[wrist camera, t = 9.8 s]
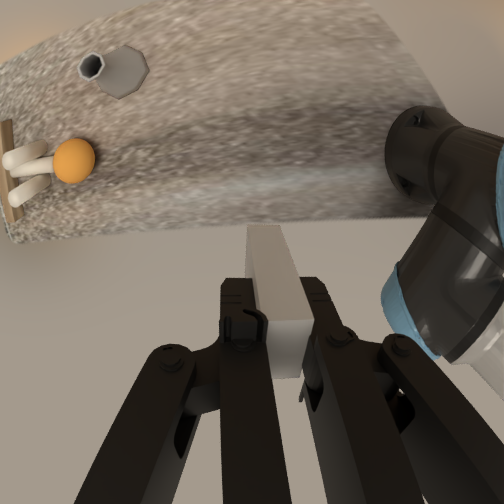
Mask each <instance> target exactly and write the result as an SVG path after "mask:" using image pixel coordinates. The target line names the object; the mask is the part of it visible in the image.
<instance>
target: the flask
mask: <svg viewBox="0 0 504 504" xmlns="http://www.w3.org/2000/svg"><path fill="white" fill-rule="evenodd" d="M77 71H78V74H79V76H80V78H82V79H84V80H86V81H88V82H91V81H92V80H94V79H95V80H96V82H97V83H98V85H99V87H100V89H101V90H102V91H103V92H105V93H107V94H109V95H111V96H113V97H115V98H117V99H121V98H122V97H124V96H126V95H128V94H130V93H132V92H134V91H136V90H138V88H139V87H140V85H141V83H142V82H143V80H144V78H145V77H146V75H147V74H148V72H149V69H148V66H147V64H146V61H145V59H144V56H143V54H142V52H139V51H137V50H135V49H133V48H131V47H129V46H126V45H124V46H122V47H120V48H118V49H116V50H114V51H112V52H110V53H108V54H106V55H101V54H99V53H97V52H95V51H91V52H90V53H88V54H87V55H85V56H83V57H82V59H81V60H80V62H79V64H78V66H77Z"/></svg>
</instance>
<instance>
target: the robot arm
mask: <svg viewBox="0 0 504 504" xmlns="http://www.w3.org/2000/svg"><path fill="white" fill-rule="evenodd" d="M385 161H386V167H387V171H388V174H389V176H390V179H391V181H392V182H393V184H394V185H395V186H396V188H397V189H398V190H399V191H400V192H402V193H403V194H404V195H406V196H407V197H409V198H410V199H412V200H414V201H417V202H420V203H426V204H435V206H434V208H433V210H432V211H431V213H430V214H429V216H428V218H427V220H426V222H425V223H424V225H423V226H422V228H421V230H420V231H419V233H418V234H417V236H416V238H415V239H414V241H413V242H412V244H411V245H410V247H409V248H408V250H407V251H406V253H405V254H404V256H403V257H402V259H401V260H400V261H399V262H397V263H396V264H395V267H394V271H393V272H392V274H391V276H390V277H389V279H388V280H387V282H386V283H385V285H384V287H383V289H382V292H381V304H382V307H383V312H384V314H385V317H386V319H387V321H388V323H389V324H390V326H391V328H392V329H393V331H394V332H395V333H394V334H389V335H388V336H386V337H385V339H384V341H383V343H374V342H368V341H363V340H360V339H359V338H358V336H357V335H356V333H355V332H354V331H353V330H351V329H350V328H348V327H346V326H343V324H342V322H341V320H340V317H339V315H338V313H337V311H336V308H335V306H334V304H333V302H332V301H331V297H330V295H329V294H328V291H327V289H326V287H325V284H324V283H322V282H321V281H320V280H319V279H318V278H317V277H299V276H298V273H297V270H296V268H295V265H294V262H293V259H292V257H291V254H290V252H289V249H288V246H287V243H286V241H285V238H284V236H283V233H282V231H281V228H280V225H251V224H247V243H246V263H245V278H226V279H225V280H224V282H223V283H222V285H221V293H220V294H221V295H220V320H219V337H218V339H217V340H216V341H215V343H213V344H212V345H210V346H209V347H207V348H204V349H201V350H197V351H193V352H191V351H190V350H189V349H188V348H187V347H184V346H182V345H179V344H167V345H162V346H160V347H158V348H156V349H154V350H153V352H152V353H151V354H150V355H149V357H148V358H147V360H146V362H145V364H144V366H143V368H142V369H141V371H140V373H139V375H138V377H137V379H136V380H135V382H134V384H133V386H132V388H131V390H130V392H129V394H128V395H127V397H126V399H125V401H124V403H123V405H122V407H121V409H120V411H119V413H118V414H117V416H116V418H115V420H114V422H113V424H112V426H111V428H110V430H109V432H108V434H107V436H106V438H105V440H104V442H103V444H102V446H101V448H100V450H99V452H98V454H97V456H96V458H95V460H94V462H93V464H92V466H91V468H90V470H89V472H88V474H87V477H86V479H85V481H84V483H83V485H82V487H81V489H80V491H79V493H78V496H77V498H76V500H75V502H74V504H172V501H173V498H174V495H175V492H176V489H177V487H178V484H179V480H180V477H181V474H182V472H183V469H184V466H185V463H186V459H187V456H188V453H189V450H190V447H191V444H192V441H193V438H194V435H195V432H196V429H197V426H198V423H199V420H200V417H201V414H204V413H208V412H211V411H215V410H218V409H220V428H221V462H222V463H221V464H222V489H223V504H292V501H291V495H290V489H289V483H288V477H287V471H286V465H285V458H284V452H283V445H282V439H281V433H280V426H279V420H278V415H277V408H276V402H275V396H274V389H273V383H272V379H282V378H283V379H284V378H299V377H300V374H301V370H302V369H303V373H304V377H305V379H304V383H303V386H302V389H301V392H300V396H299V402H302V401H303V398H305V402H306V407H307V411H308V415H309V420H310V424H311V429H312V433H313V438H314V442H315V447H316V451H317V456H318V461H319V465H320V469H321V474H322V479H323V484H324V488H325V493H326V497H327V503H328V504H425V503H424V500H423V496H424V498H425V499H426V501H427V502H428V504H504V444H503V443H502V442H501V440H500V439H499V438H498V437H497V435H496V434H495V433H494V432H493V430H492V429H491V428H490V427H489V425H488V424H487V423H486V422H485V420H484V419H483V418H482V417H481V416H480V414H479V413H478V412H477V411H476V410H475V408H474V407H473V406H472V405H471V404H470V403H469V401H468V400H467V399H466V398H465V397H464V395H463V394H462V393H461V392H460V391H459V390H458V388H456V386H455V385H454V384H453V383H452V381H451V380H450V379H449V378H448V377H447V376H446V375H445V374H444V373H443V371H442V370H441V369H440V368H439V367H438V366H437V365H436V363H435V362H434V361H433V360H435V359H438V358H439V357H440V356H441V355H442V356H443V357H444V358H445V359H446V360H447V361H448V362H449V363H450V364H451V365H458V364H469V365H471V367H473V369H474V370H475V371H476V372H477V373H478V374H479V375H480V376H481V377H482V378H483V379H484V380H485V381H486V382H487V383H488V384H489V386H490V387H491V388H492V389H493V390H494V391H495V392H496V393H497V394H498V395H499V396H500V398H501V399H502V400H503V401H504V277H503V276H502V274H503V273H504V138H503V137H500V136H497V135H494V134H491V133H487V132H484V131H481V130H477V129H474V128H470V127H466V126H464V125H463V124H461V123H460V122H459V121H458V120H456V119H455V118H454V117H453V116H451V115H450V114H449V113H447V112H446V111H444V110H442V109H439V108H436V107H430V106H416V107H413V108H410V109H408V110H406V111H405V112H404V113H402V114H401V115H400V116H399V117H398V118H397V119H396V121H395V122H394V124H393V125H392V127H391V129H390V131H389V134H388V137H387V141H386V147H385ZM399 389H401V390H402V391H403V393H404V394H402V393H401V392H399ZM421 493H422V494H421ZM422 495H423V496H422Z"/></svg>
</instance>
